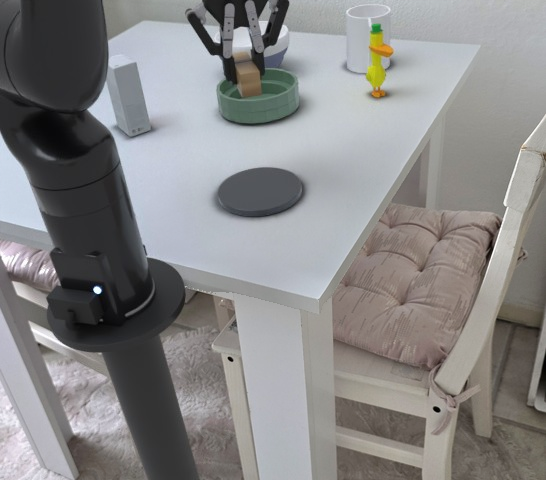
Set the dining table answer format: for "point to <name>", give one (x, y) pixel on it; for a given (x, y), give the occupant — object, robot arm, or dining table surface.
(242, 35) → the bowl
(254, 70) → the clip
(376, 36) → the toy figure
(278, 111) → the green bowl
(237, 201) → the plate
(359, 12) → the cup
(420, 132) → the dining table surface
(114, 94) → the cosmetic box
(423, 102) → the dining table surface
